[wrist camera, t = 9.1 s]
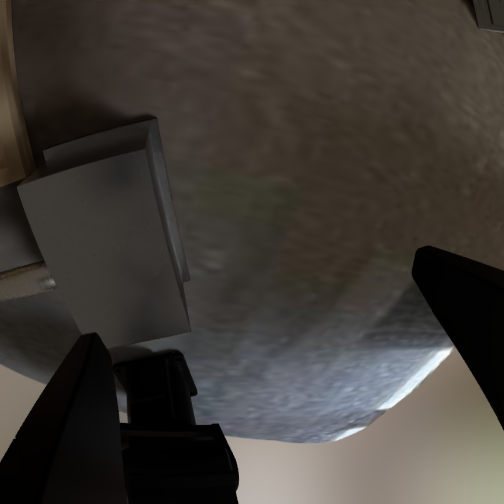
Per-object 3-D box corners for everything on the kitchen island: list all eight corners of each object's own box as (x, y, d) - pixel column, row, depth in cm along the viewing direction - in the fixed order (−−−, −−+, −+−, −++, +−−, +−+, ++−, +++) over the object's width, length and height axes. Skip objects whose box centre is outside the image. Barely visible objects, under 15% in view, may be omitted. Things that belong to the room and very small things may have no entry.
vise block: (189, 275, 22) (201, 335, 17) (18, 312, 20) (-2, 370, 15) (156, 117, 16) (155, 134, 11) (-40, 184, 14) (-88, 224, 9)
